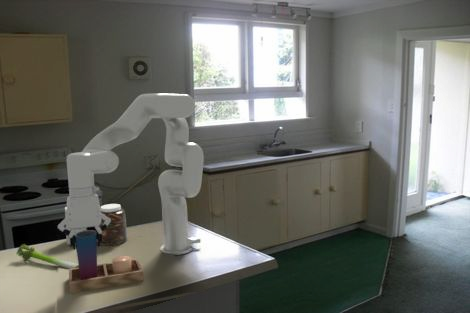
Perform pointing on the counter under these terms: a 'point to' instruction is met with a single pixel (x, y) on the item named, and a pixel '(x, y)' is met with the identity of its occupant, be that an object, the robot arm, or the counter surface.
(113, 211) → the jar
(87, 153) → the robot arm
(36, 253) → the leek
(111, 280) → the caddy
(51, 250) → the counter surface
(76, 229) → the skincare box
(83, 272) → the cup
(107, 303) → the counter surface
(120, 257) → the peach capsule shape
